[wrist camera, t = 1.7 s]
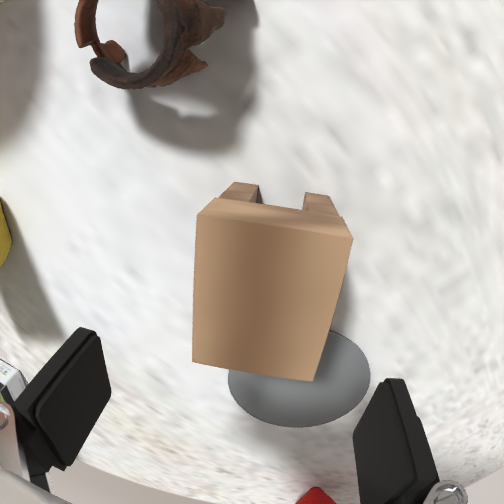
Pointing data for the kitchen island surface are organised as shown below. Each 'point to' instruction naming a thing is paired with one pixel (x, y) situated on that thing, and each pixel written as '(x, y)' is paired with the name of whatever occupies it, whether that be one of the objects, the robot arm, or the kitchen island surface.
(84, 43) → the brown curved piece
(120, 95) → the kitchen island surface
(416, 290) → the kitchen island surface
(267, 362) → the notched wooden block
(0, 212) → the flower pot
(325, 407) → the mat
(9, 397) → the tea box
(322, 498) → the strawberry
